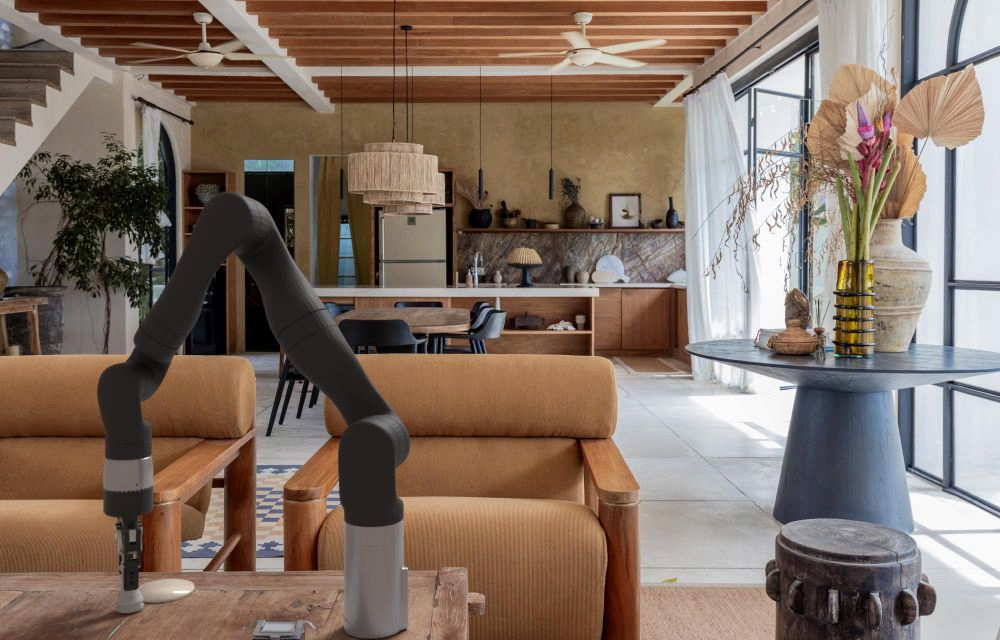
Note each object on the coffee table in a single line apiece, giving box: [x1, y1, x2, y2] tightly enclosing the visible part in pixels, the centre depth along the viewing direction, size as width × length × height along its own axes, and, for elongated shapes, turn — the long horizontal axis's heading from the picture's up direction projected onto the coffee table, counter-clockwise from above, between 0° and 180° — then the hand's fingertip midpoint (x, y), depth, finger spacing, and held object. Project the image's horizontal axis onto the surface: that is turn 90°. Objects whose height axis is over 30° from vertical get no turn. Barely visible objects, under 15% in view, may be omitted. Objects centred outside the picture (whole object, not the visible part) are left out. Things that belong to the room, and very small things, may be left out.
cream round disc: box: [138, 578, 195, 604], centre depth 149 cm, size 10×10×1 cm
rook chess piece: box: [114, 561, 145, 615], centre depth 141 cm, size 4×4×8 cm
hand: (128, 581), depth 141 cm, fingers open, 8 cm apart
